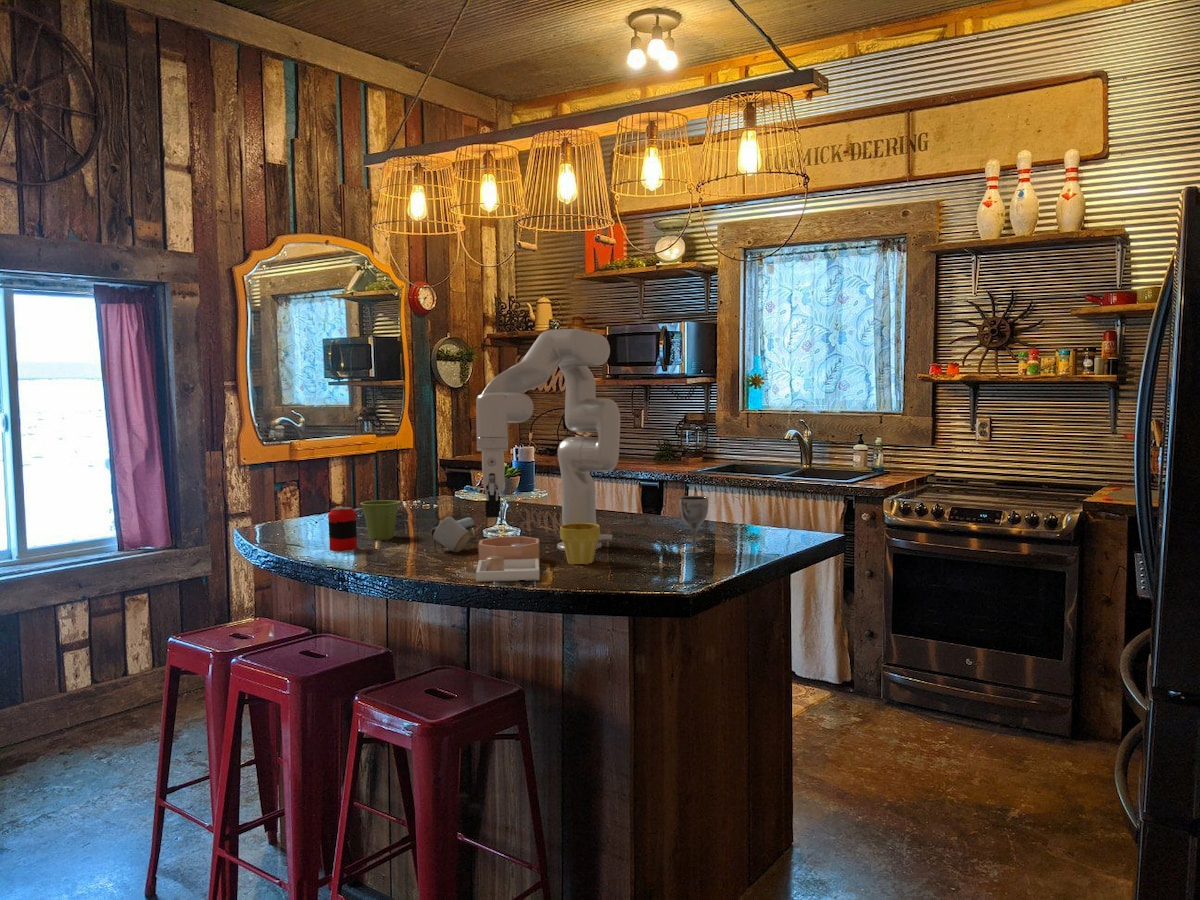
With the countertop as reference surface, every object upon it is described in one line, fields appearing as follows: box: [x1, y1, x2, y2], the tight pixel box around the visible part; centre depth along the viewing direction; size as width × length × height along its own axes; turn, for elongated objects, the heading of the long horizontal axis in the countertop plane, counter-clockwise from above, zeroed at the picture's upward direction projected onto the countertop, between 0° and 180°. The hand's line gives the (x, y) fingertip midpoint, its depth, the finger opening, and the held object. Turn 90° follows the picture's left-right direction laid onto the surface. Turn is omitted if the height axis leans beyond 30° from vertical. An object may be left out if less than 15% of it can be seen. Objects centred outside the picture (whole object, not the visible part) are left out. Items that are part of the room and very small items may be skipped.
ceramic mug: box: [432, 516, 471, 553], centre depth 264 cm, size 11×8×8 cm
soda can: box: [328, 506, 358, 552], centre depth 268 cm, size 8×8×12 cm
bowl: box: [477, 535, 541, 564], centre depth 247 cm, size 16×16×6 cm
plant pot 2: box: [559, 523, 601, 565], centre depth 245 cm, size 10×10×10 cm
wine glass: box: [678, 495, 710, 553], centre depth 258 cm, size 8×8×15 cm
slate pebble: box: [511, 543, 527, 546], centre depth 248 cm, size 4×4×4 cm
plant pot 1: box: [360, 499, 401, 541], centre depth 286 cm, size 12×12×11 cm
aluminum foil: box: [429, 517, 475, 537], centre depth 299 cm, size 23×7×3 cm, turn 160°
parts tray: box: [475, 559, 540, 583], centre depth 231 cm, size 15×15×2 cm
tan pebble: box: [486, 556, 504, 571], centre depth 231 cm, size 4×4×4 cm
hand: (493, 514), depth 229 cm, fingers open, 9 cm apart
